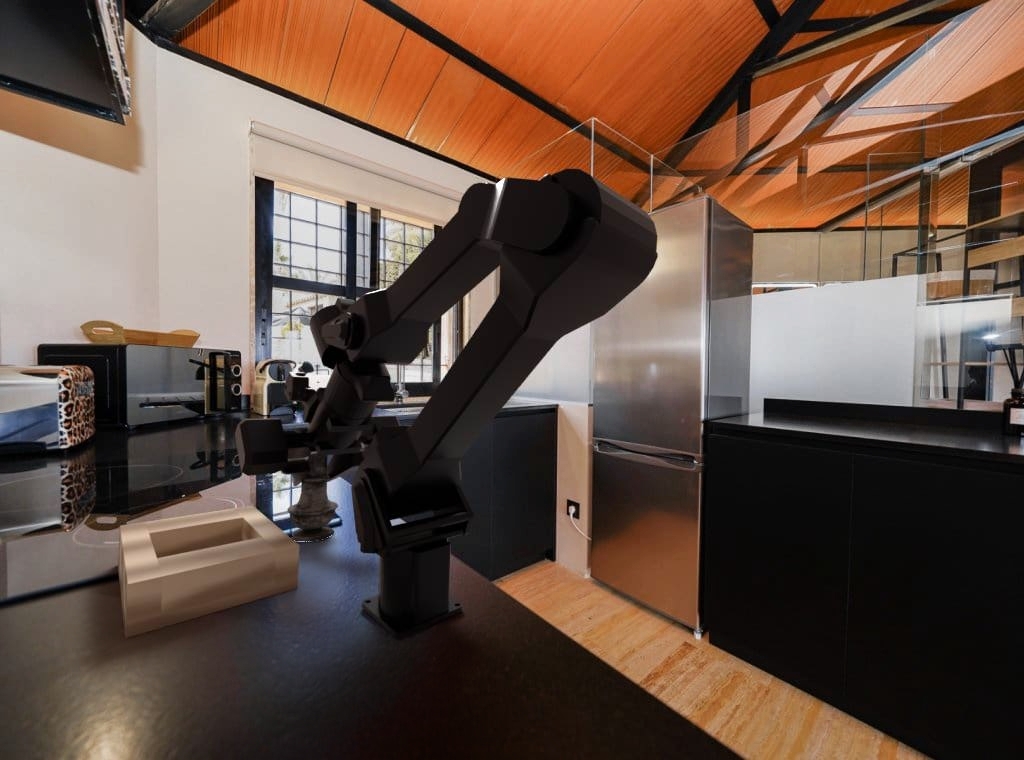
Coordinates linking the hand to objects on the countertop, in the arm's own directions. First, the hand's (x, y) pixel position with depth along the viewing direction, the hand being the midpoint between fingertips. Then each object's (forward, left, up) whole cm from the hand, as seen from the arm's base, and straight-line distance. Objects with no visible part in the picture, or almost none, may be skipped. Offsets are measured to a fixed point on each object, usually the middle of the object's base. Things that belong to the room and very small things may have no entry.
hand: (310, 481), depth 54 cm
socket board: (-6, +12, -7) cm, 15 cm away
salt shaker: (-1, 0, -7) cm, 7 cm away
